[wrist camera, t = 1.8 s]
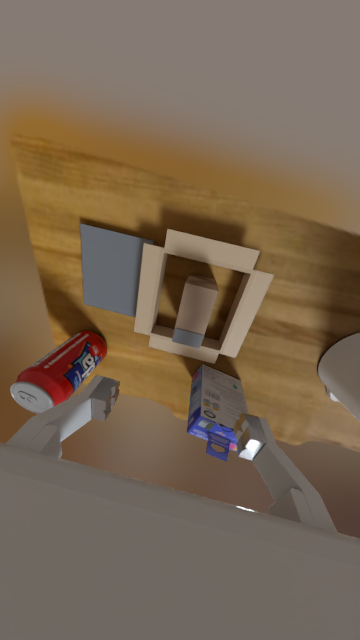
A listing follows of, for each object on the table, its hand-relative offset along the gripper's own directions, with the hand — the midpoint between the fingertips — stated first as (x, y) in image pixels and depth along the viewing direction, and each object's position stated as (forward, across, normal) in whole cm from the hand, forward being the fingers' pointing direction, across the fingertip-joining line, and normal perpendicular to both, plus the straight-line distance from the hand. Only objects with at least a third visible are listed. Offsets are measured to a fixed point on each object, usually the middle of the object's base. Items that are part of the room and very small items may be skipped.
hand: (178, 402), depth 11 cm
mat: (+22, +14, -1) cm, 26 cm away
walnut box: (+22, 0, 0) cm, 22 cm away
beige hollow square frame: (+22, 0, 0) cm, 22 cm away
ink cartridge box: (+22, -10, +17) cm, 29 cm away
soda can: (+22, +20, +16) cm, 33 cm away
